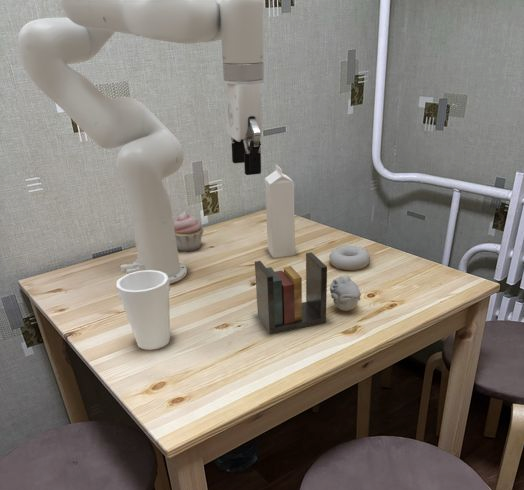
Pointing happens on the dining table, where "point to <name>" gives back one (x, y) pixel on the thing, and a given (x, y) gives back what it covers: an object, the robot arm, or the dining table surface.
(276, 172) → the milk
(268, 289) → the book rack
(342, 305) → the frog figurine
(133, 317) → the foam cup
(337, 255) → the donut
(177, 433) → the dining table surface
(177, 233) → the cupcake
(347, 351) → the dining table surface
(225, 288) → the dining table surface
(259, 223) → the dining table surface
